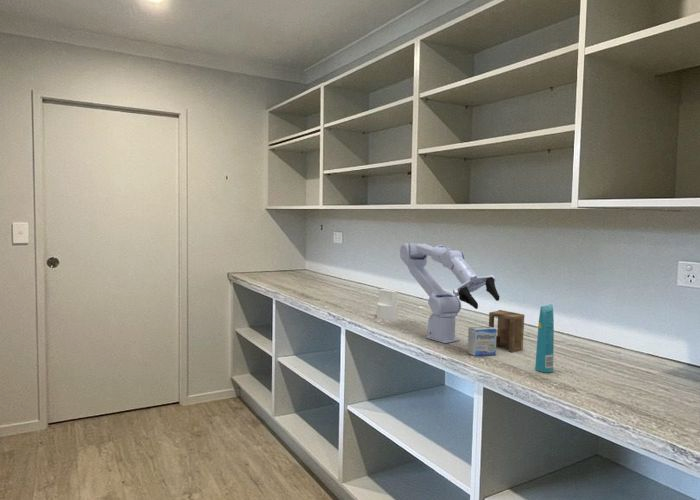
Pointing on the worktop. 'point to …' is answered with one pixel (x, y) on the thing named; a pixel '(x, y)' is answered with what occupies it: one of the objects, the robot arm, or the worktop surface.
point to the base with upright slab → (387, 305)
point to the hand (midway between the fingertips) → (487, 302)
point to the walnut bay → (508, 329)
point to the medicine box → (482, 341)
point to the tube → (545, 340)
